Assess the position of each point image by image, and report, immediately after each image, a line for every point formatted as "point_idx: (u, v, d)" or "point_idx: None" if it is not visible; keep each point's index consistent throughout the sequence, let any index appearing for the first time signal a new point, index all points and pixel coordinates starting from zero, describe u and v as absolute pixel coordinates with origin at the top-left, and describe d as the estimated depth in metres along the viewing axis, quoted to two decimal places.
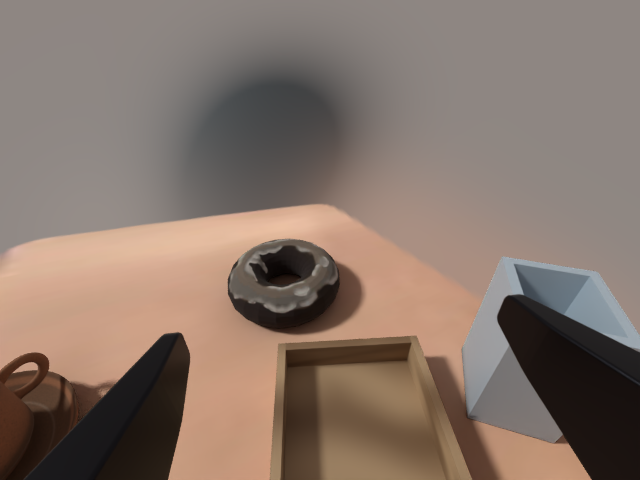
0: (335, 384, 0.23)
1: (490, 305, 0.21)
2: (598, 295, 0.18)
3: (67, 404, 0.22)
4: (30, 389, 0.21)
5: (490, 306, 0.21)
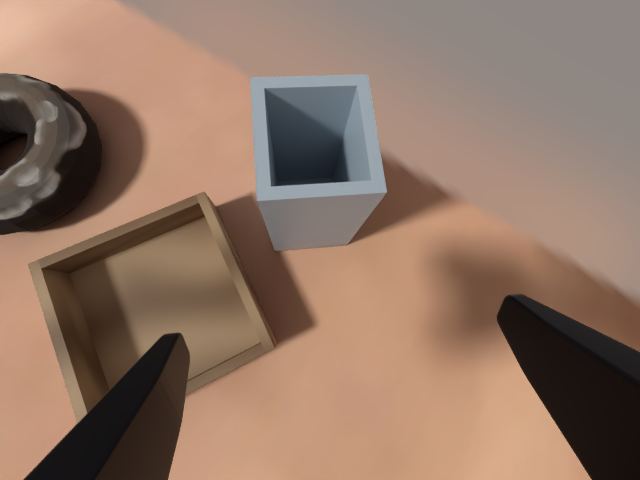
0: (133, 271, 0.21)
1: None
2: (360, 117, 0.14)
3: None
4: None
5: None
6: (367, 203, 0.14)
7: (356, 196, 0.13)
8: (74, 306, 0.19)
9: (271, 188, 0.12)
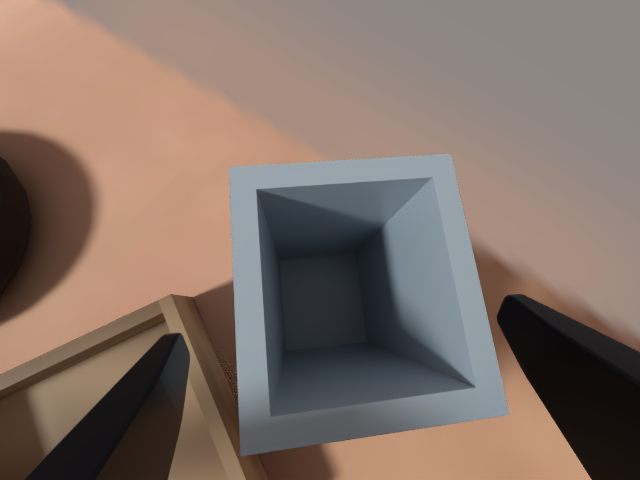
0: (69, 406, 0.14)
1: None
2: (440, 240, 0.07)
3: None
4: None
5: None
6: None
7: None
8: None
9: (271, 421, 0.06)
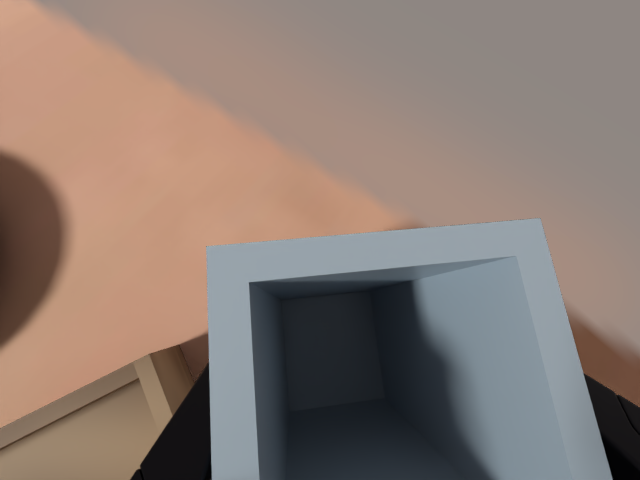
0: None
1: None
2: (529, 354, 0.05)
3: None
4: None
5: None
6: None
7: None
8: None
9: None
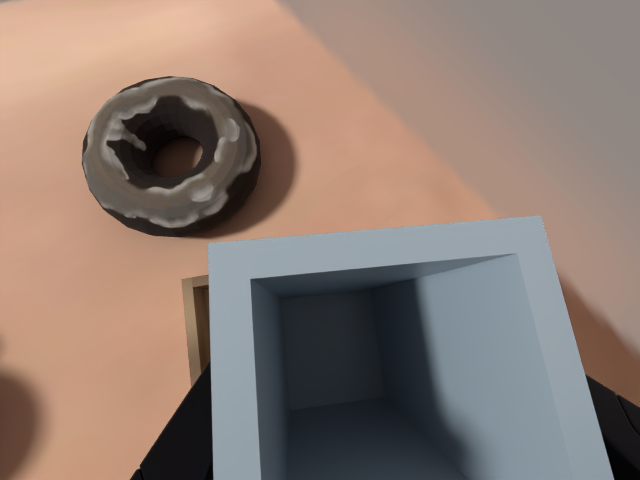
0: None
1: None
2: (530, 351, 0.05)
3: None
4: None
5: None
6: None
7: None
8: (205, 327, 0.19)
9: None
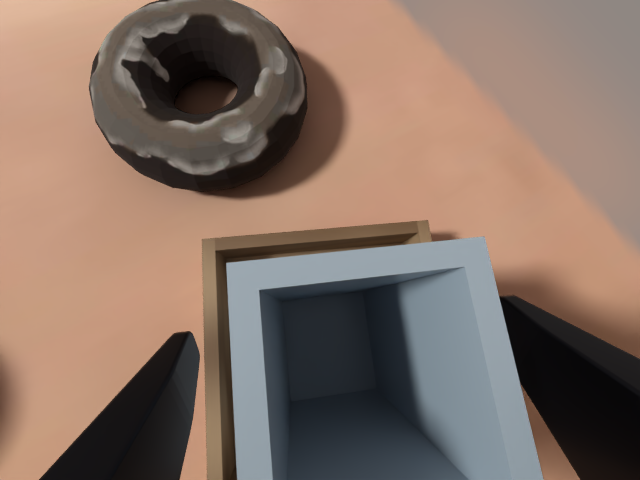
0: None
1: None
2: (475, 342, 0.06)
3: None
4: None
5: None
6: None
7: None
8: (225, 304, 0.15)
9: None
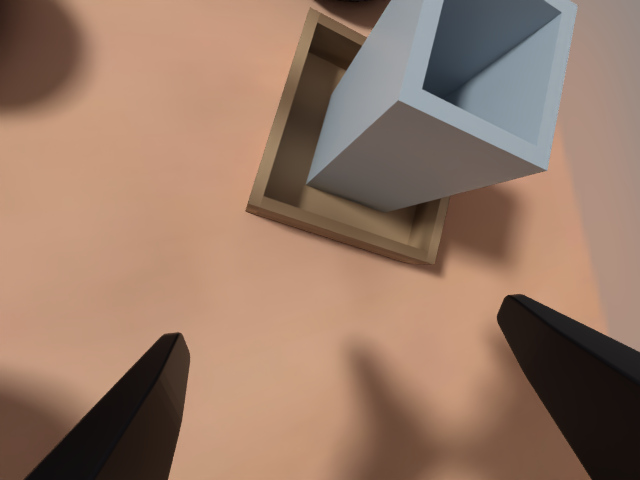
0: None
1: (380, 37, 0.12)
2: (546, 58, 0.10)
3: None
4: None
5: (379, 39, 0.12)
6: (499, 174, 0.10)
7: (507, 158, 0.09)
8: None
9: (421, 92, 0.08)
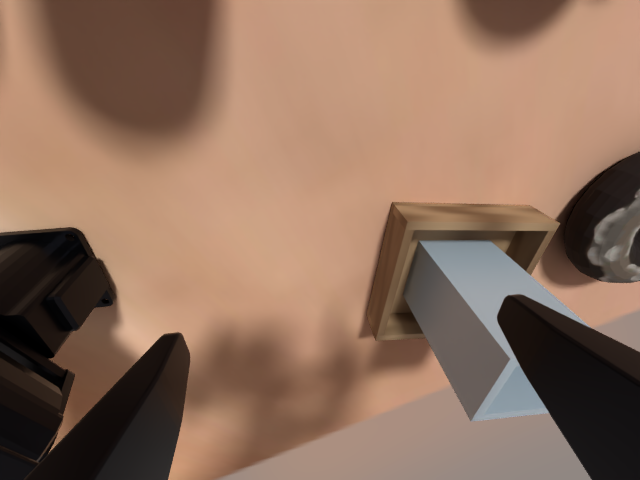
0: None
1: None
2: (532, 405, 0.17)
3: None
4: None
5: None
6: (462, 394, 0.18)
7: (475, 403, 0.16)
8: None
9: (514, 366, 0.14)
